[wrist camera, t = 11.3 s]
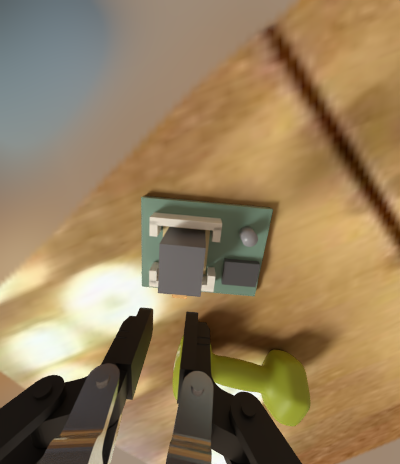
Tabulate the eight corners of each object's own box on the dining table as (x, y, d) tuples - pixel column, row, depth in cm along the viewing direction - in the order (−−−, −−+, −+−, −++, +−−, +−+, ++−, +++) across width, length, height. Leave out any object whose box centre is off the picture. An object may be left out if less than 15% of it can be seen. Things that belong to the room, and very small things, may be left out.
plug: (205, 230, 22) (205, 248, 17) (200, 273, 23) (199, 301, 19) (169, 226, 22) (159, 243, 17) (167, 270, 23) (157, 297, 19)
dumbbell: (297, 342, 28) (327, 399, 21) (274, 379, 31) (295, 441, 24) (187, 313, 27) (181, 364, 20) (172, 354, 29) (163, 412, 22)
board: (270, 207, 22) (280, 213, 19) (252, 291, 25) (258, 307, 22) (144, 195, 22) (135, 200, 19) (144, 281, 25) (136, 296, 22)
